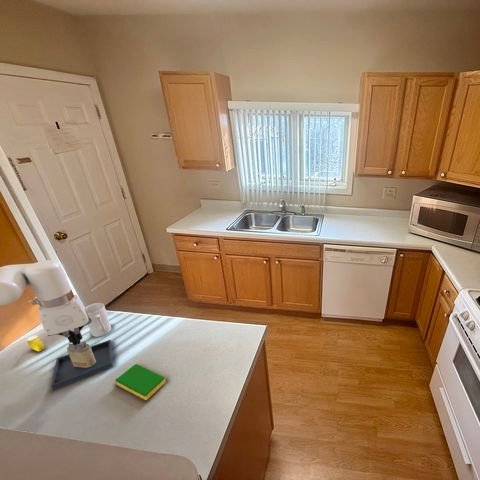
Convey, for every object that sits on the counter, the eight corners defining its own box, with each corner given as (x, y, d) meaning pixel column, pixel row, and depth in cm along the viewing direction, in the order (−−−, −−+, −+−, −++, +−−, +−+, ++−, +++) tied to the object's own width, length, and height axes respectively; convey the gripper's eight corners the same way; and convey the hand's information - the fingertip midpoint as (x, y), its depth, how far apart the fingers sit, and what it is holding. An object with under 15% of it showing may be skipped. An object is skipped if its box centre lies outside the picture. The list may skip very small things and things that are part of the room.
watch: (48, 349, 96) (42, 337, 94) (39, 354, 94) (33, 342, 91) (37, 344, 98) (31, 333, 95) (28, 350, 95) (21, 338, 93)
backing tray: (53, 390, 82) (51, 385, 81) (58, 362, 91) (56, 358, 90) (112, 366, 91) (111, 362, 90) (111, 343, 100) (110, 339, 99)
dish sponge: (146, 400, 80) (144, 395, 79) (116, 384, 85) (114, 379, 84) (166, 382, 86) (164, 377, 85) (137, 368, 91) (136, 363, 90)
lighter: (70, 366, 89) (61, 345, 85) (80, 358, 93) (72, 337, 89) (90, 368, 89) (82, 347, 85) (99, 359, 92) (92, 338, 89)
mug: (89, 331, 105) (79, 308, 100) (109, 323, 110) (101, 300, 105) (96, 344, 99) (86, 320, 94) (117, 334, 104) (109, 311, 99)
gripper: (19, 314, 73) (44, 360, 80) (87, 296, 81) (105, 339, 89) (24, 300, 78) (48, 344, 85) (88, 285, 86) (104, 326, 94)
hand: (77, 341), depth 87 cm, fingers closed
